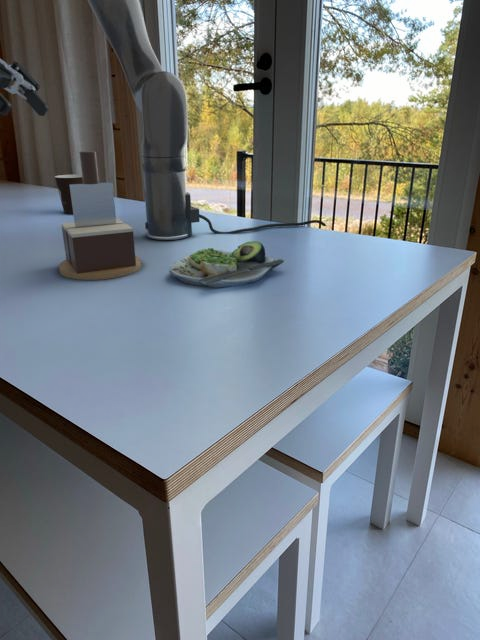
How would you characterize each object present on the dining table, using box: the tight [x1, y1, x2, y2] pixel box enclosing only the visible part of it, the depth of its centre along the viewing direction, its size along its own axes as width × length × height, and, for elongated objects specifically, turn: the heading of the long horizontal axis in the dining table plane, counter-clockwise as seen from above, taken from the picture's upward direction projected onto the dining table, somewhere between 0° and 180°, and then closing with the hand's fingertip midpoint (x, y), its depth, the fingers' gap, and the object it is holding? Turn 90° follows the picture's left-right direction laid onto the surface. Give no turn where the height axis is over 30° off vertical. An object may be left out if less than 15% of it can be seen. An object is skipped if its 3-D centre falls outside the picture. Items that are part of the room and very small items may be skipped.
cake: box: [58, 217, 142, 281], centre depth 83 cm, size 14×14×8 cm
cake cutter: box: [70, 150, 117, 227], centre depth 79 cm, size 7×3×12 cm, turn 118°
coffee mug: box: [54, 174, 83, 216], centre depth 135 cm, size 12×9×10 cm
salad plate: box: [168, 240, 285, 289], centre depth 80 cm, size 19×18×5 cm
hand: (27, 111), depth 78 cm, fingers open, 8 cm apart
